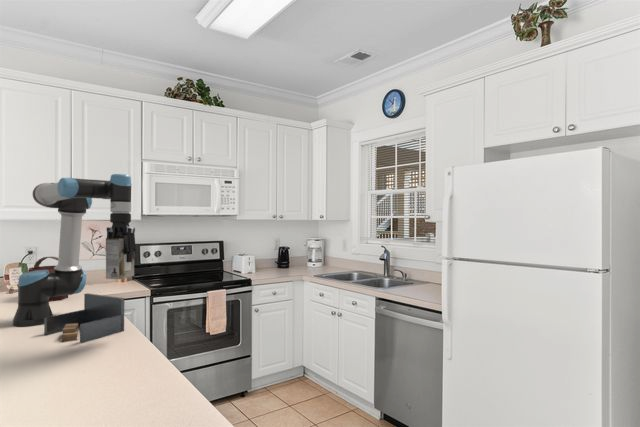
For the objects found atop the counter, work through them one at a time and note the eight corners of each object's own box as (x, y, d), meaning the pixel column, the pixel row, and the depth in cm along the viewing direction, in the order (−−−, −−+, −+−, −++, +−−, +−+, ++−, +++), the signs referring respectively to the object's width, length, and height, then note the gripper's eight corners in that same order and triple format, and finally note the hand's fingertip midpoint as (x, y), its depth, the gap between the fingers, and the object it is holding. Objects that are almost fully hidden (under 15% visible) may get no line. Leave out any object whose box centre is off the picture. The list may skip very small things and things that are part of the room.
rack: (44, 334, 168) (44, 300, 168) (87, 324, 185) (87, 293, 185) (82, 342, 158) (82, 306, 158) (124, 330, 175) (124, 298, 175)
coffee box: (121, 275, 168) (121, 236, 169) (134, 276, 167) (135, 237, 167) (105, 279, 159) (105, 237, 160) (119, 279, 158) (119, 238, 158)
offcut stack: (63, 334, 169) (63, 323, 169) (78, 333, 172) (78, 322, 172) (60, 342, 159) (61, 331, 159) (77, 341, 161) (77, 329, 161)
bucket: (80, 298, 242) (80, 256, 242) (38, 305, 223) (39, 259, 223) (59, 294, 255) (59, 254, 255) (18, 300, 236) (19, 257, 236)
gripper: (95, 212, 165) (94, 269, 164) (130, 212, 156) (130, 272, 156) (111, 213, 171) (111, 267, 171) (146, 212, 163) (146, 270, 162)
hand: (120, 269), depth 163 cm, fingers closed on coffee box, 7 cm apart
